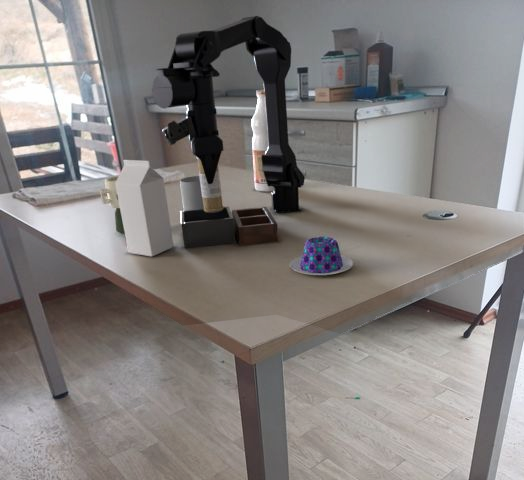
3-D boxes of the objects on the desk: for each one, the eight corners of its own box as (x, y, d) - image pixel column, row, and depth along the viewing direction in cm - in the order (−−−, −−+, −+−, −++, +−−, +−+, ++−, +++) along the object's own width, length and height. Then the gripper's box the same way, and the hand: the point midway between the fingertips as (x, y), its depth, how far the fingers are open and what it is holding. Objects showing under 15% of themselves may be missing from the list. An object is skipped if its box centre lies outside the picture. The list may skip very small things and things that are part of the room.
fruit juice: (249, 188, 166) (242, 90, 152) (275, 184, 169) (270, 88, 156) (264, 193, 158) (258, 91, 145) (290, 188, 162) (287, 88, 148)
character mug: (116, 240, 124) (104, 184, 118) (103, 234, 129) (91, 180, 122) (156, 229, 130) (147, 176, 123) (142, 225, 135) (133, 172, 128)
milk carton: (152, 257, 111) (136, 164, 102) (128, 253, 114) (110, 162, 105) (174, 247, 116) (160, 157, 107) (150, 244, 119) (135, 157, 110)
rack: (267, 222, 129) (266, 206, 127) (278, 241, 115) (277, 223, 113) (233, 226, 128) (231, 210, 126) (240, 245, 114) (238, 227, 112)
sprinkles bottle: (221, 206, 120) (214, 144, 113) (225, 211, 116) (218, 148, 109) (202, 209, 119) (194, 147, 112) (204, 214, 115) (196, 150, 108)
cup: (211, 222, 133) (206, 182, 128) (180, 222, 134) (175, 182, 130) (220, 213, 140) (216, 175, 135) (191, 214, 142) (186, 176, 137)
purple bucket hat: (329, 283, 92) (329, 255, 89) (277, 271, 99) (275, 244, 96) (365, 263, 99) (366, 236, 97) (314, 253, 107) (313, 228, 104)
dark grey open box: (230, 229, 126) (228, 206, 124) (235, 242, 116) (233, 218, 114) (183, 233, 125) (180, 210, 122) (184, 248, 115) (181, 223, 112)
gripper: (162, 103, 114) (172, 177, 122) (160, 109, 98) (172, 194, 105) (212, 99, 115) (220, 172, 123) (219, 105, 99) (227, 188, 106)
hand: (209, 181), depth 114 cm, fingers closed on sprinkles bottle, 4 cm apart
